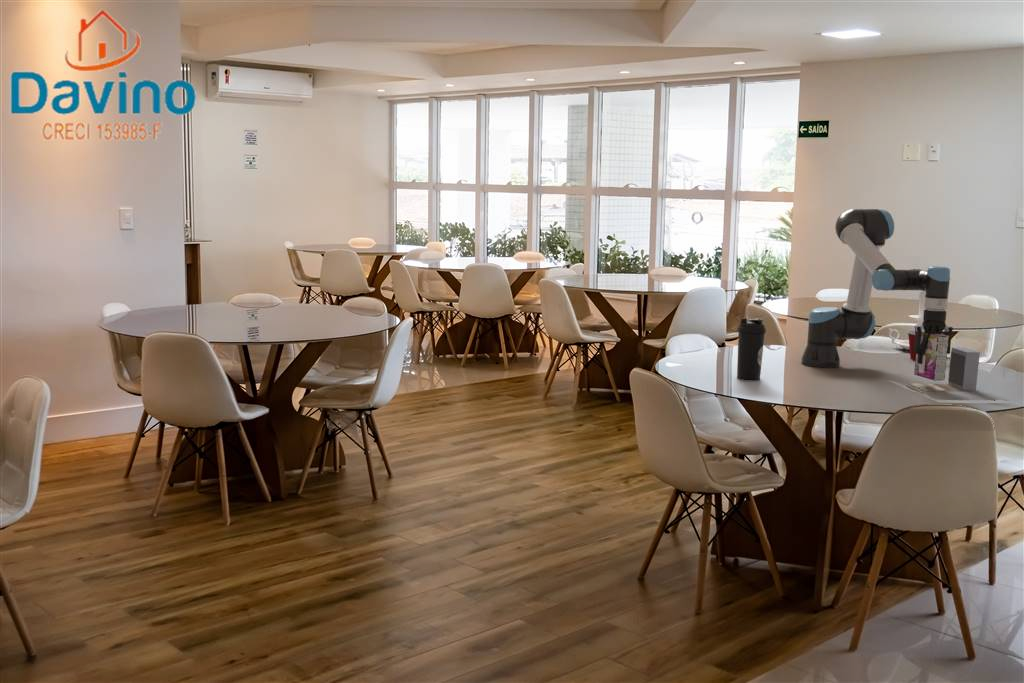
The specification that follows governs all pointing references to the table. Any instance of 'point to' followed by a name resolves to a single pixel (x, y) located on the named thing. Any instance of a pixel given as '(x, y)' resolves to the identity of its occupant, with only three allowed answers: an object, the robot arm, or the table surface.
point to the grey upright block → (963, 368)
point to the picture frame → (935, 387)
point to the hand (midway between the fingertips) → (929, 372)
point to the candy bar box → (934, 357)
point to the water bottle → (750, 349)
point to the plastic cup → (911, 344)
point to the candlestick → (918, 317)
